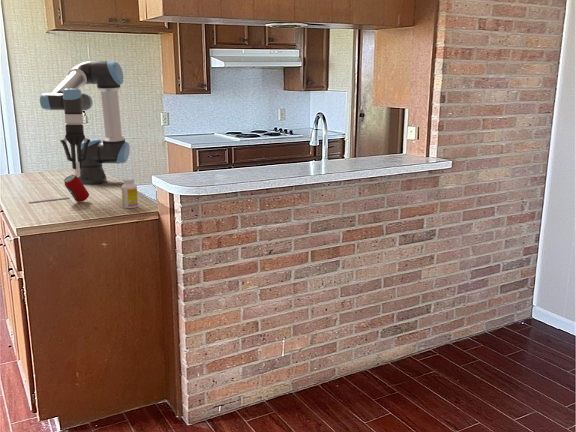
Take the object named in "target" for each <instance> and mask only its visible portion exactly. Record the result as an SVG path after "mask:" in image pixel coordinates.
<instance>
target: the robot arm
mask: <svg viewBox="0 0 576 432" xmlns="http://www.w3.org/2000/svg"><path fill="white" fill-rule="evenodd" d="M123 83H124V72H123V69H122V67H121V65H120V63H119V62H117V61H111V60H99V61H98V60H96V61H95V60H94V61H93V60H88V61H82V62H80V63H79V64H76V65H75V66H73V67H72V68H71V69H70V70H69V71H68V73H67V76H66V77H65V78H64V79H63V80H62V81H61V82H60V83H59V84H58V85H57V86H56V87H55V88H54V89H53V90H52V91H50V92H45V93H41V94H40V96H39V104H40V107H41V108H42V109H43V110H45V111H64V123H65V137H64V138H62V139H60V140H59V142H60V144H61V145H62V146H63V147H62V148H63V149H64V153H65V155H66V159H67V161H69V162H71V165H72V170H74V175H75V176H77V177H78V178H79V179H80V181H81V182H82V184H83V185H97V184H103V183H107V181H108V180H107V179H108V178H107V175H106V173H105V170H104V167H103V164H117V165H118V164H126V163H127V161H128V160H129V157H130V143H129V142H127V141H126V138H125V137H124V136H123V135H122V124H121V123H122V122H121V114H120V112H121V111H120V102H119V92H118V91H119V90H120V89H121V85H123ZM85 85H96V87H97V89H98V90H99V91H100V95H101V106H102V117H103V125H104V137H103V138H102V140H101V139H100V138H96V139H94V138H93V139H90V138H87V137H86V136H85V134H84V133H85V132H84V125H83V123H84V116H83V111H87V110H90V109H91V108H92V106H93V99H92V97H91V96H90V95H89V94H87V93H82V91H81V89H80V88H81V87H84V86H85ZM68 143H69V145H70V149H69V147H68Z"/></svg>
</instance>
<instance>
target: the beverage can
mask: <svg viewBox="0 0 576 432" xmlns="http://www.w3.org/2000/svg"><path fill="white" fill-rule="evenodd" d="M63 182H64V186H65V188H66V189H67V190H68V192H69V193H70V194H71V196H72V198H73V199H74V201H75V202H76V203H83V202H84V201H86V200H87V199H88V198H89V196H90V193H89V192H88V190H87V188H86V187H85V184H82V182H81V181H80V179H79V178H78V177H77V176H75V174H71V175H69V176H67V177H66V178H64V179H63Z"/></svg>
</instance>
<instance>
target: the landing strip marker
mask: <svg viewBox="0 0 576 432" xmlns="http://www.w3.org/2000/svg"><path fill="white" fill-rule="evenodd" d="M68 199H70V197H63V198H61V197H60V198H53V199H44V200H36V201H35V200H34V201H28V204H35V203H45V202H53V201H60V200H62V201H63V200H68Z"/></svg>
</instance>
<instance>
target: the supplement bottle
mask: <svg viewBox="0 0 576 432" xmlns="http://www.w3.org/2000/svg"><path fill="white" fill-rule="evenodd" d="M122 181H123V184H122V185H121V198H122V199H121V200H122V207H123V208H124V209H135V208H138V207H139V200H138V186H137V184H135V178H134V177H133V178H132V177H130V178H129V177H128V178H122Z"/></svg>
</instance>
